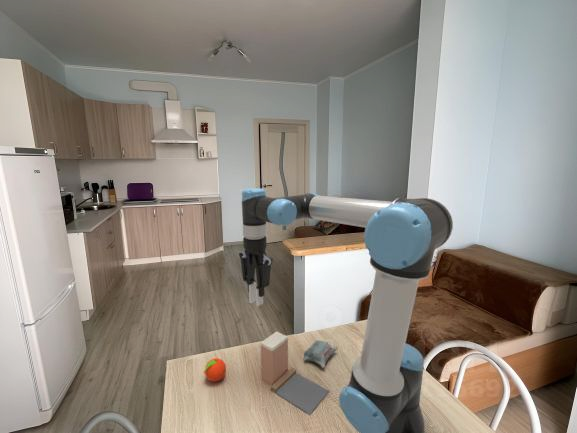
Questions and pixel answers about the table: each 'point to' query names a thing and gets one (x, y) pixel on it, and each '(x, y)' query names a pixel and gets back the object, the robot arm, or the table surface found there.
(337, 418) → the table surface
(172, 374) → the table surface
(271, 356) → the terracotta block
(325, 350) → the packaged food
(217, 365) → the clementine
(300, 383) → the mat
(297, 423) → the table surface
